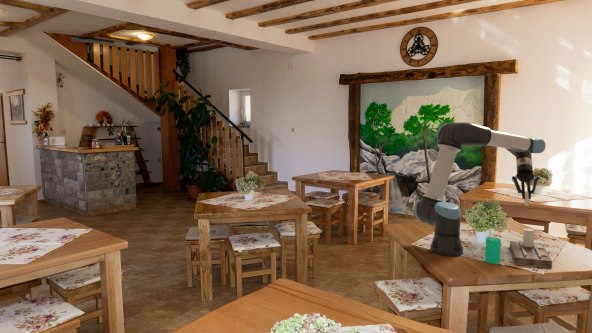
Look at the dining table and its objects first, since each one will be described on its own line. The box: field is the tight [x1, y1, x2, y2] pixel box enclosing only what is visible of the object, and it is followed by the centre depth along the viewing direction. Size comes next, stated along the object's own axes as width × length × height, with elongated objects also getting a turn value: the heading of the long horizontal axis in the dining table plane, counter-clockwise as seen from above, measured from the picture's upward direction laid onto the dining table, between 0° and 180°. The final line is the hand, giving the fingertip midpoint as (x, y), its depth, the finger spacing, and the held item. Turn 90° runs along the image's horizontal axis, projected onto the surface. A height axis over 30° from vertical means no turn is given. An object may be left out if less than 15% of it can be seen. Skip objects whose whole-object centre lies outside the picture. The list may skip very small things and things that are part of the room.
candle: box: [484, 235, 502, 265], centre depth 185 cm, size 6×6×12 cm
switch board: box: [509, 240, 553, 269], centre depth 192 cm, size 14×28×4 cm, turn 157°
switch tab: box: [522, 228, 535, 247], centre depth 197 cm, size 4×4×8 cm
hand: (527, 203), depth 209 cm, fingers closed
